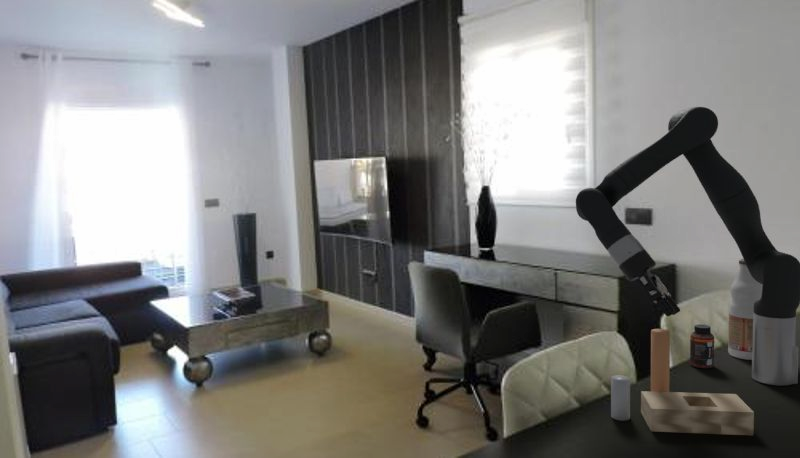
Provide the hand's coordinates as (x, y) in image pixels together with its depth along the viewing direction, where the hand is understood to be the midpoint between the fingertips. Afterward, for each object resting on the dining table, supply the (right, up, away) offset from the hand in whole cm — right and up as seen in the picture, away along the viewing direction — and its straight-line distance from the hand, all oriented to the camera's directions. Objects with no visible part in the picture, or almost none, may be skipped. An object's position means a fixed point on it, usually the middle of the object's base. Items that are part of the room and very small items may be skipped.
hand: (674, 313), depth 140 cm
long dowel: (-3, -22, +1) cm, 22 cm away
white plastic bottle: (+36, -17, +34) cm, 53 cm away
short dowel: (-14, -23, -4) cm, 27 cm away
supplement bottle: (+20, -18, +27) cm, 38 cm away
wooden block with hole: (+1, -23, -9) cm, 24 cm away
